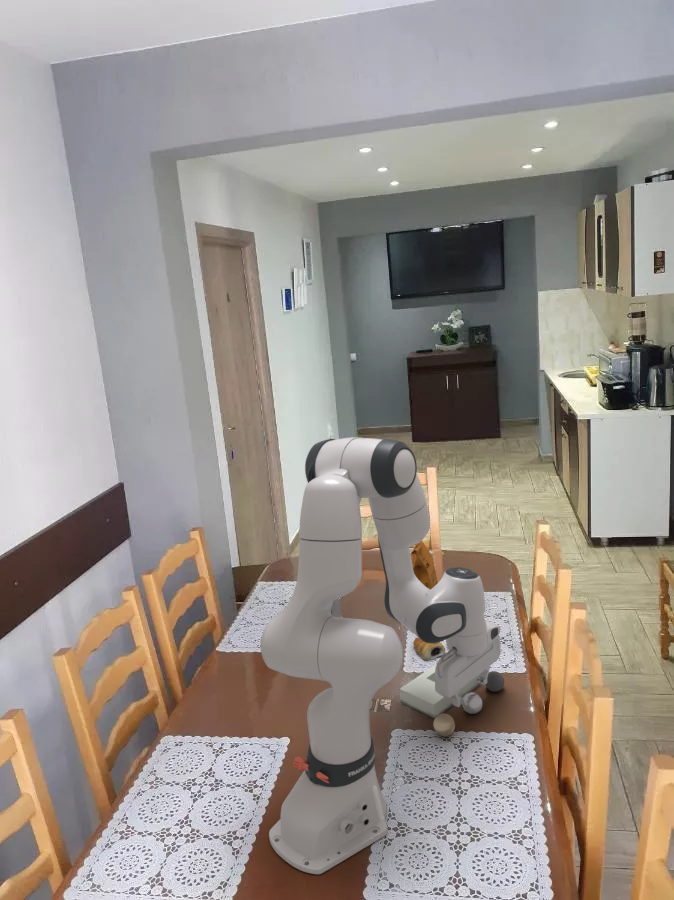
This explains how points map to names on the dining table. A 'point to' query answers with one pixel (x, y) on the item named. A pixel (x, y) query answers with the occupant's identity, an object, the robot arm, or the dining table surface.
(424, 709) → the pocket board
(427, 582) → the coffee package
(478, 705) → the steel ball
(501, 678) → the rubber ball
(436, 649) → the pastry
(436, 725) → the ash ball
